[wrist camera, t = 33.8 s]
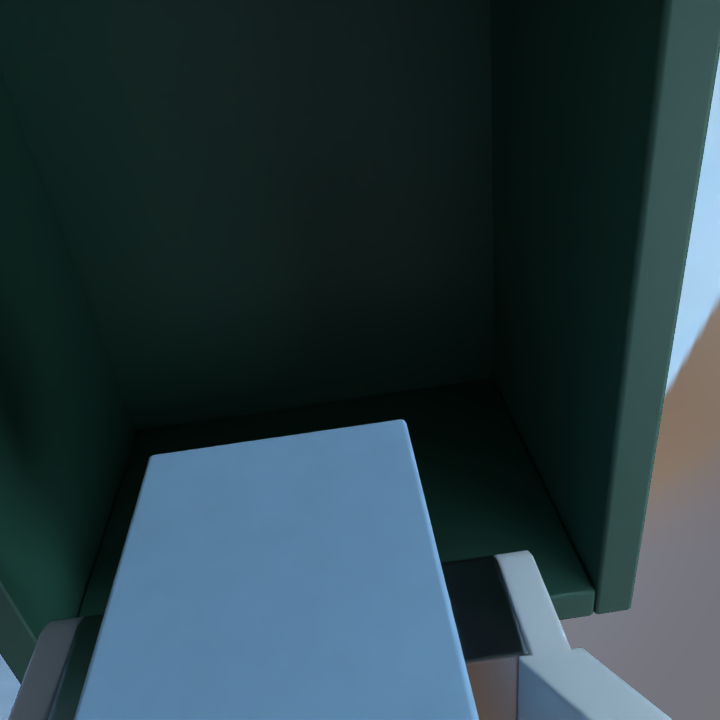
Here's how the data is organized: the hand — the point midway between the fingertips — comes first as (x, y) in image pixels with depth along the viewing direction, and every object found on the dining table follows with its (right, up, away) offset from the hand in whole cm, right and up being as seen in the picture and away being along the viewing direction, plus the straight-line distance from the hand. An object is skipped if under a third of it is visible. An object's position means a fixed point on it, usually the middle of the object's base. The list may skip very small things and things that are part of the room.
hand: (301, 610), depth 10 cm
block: (0, +1, +1) cm, 2 cm away
